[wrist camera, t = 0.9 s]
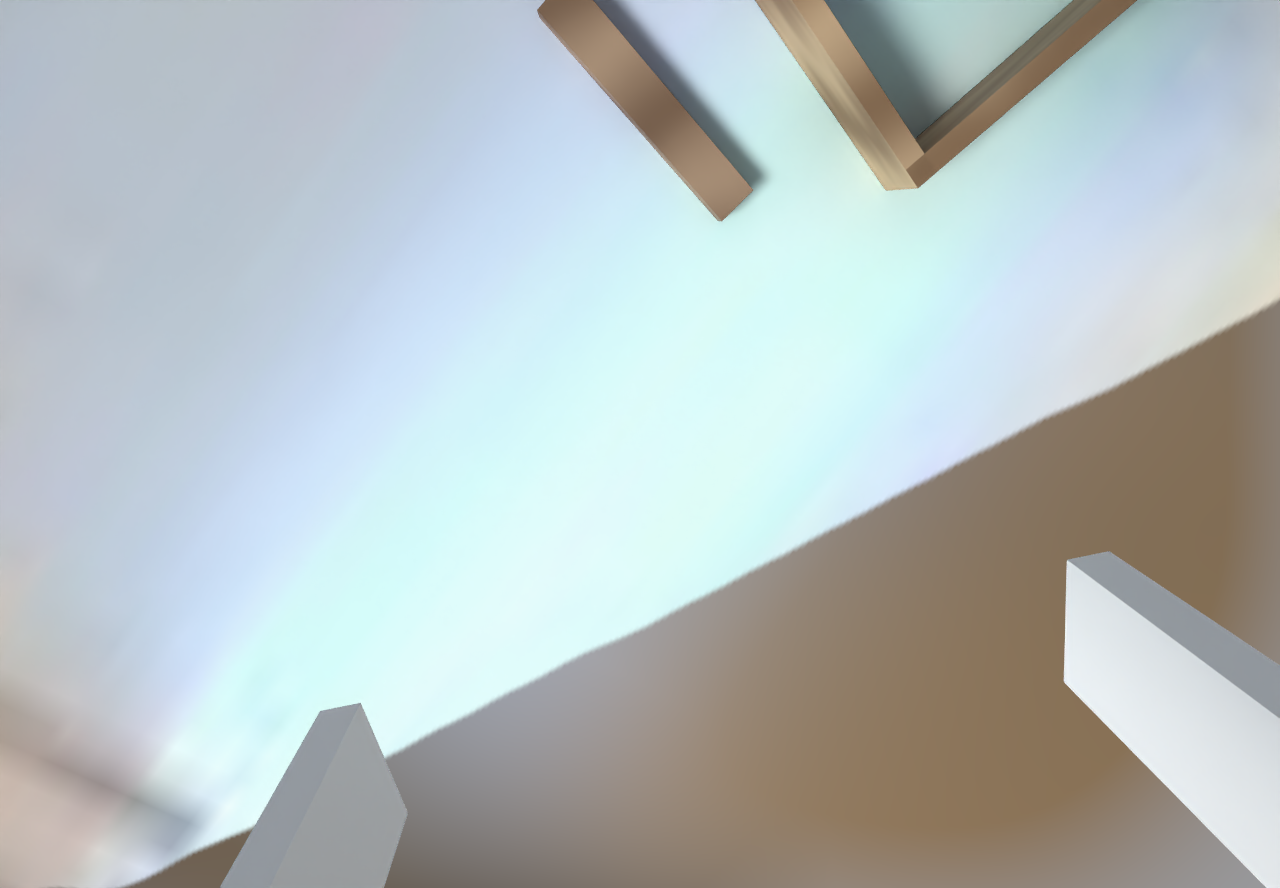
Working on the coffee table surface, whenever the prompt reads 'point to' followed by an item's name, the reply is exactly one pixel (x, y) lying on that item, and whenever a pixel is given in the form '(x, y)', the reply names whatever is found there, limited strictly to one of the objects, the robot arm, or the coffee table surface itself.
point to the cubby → (911, 161)
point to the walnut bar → (646, 102)
